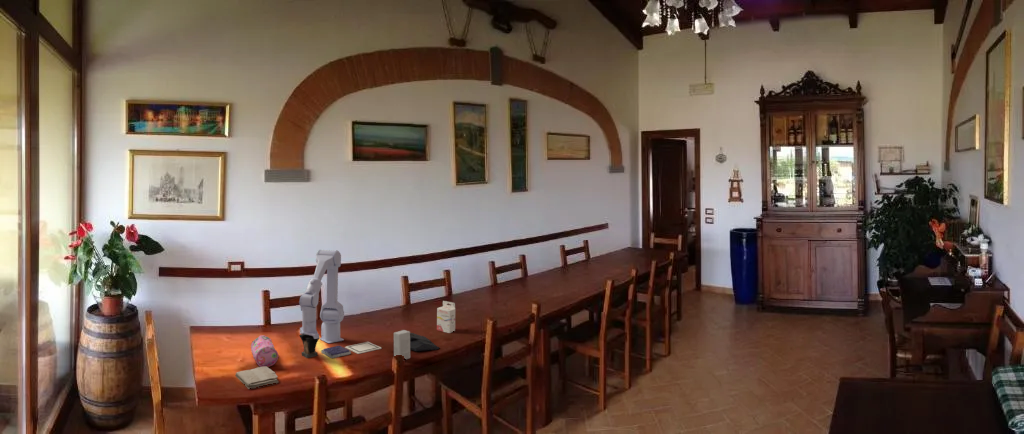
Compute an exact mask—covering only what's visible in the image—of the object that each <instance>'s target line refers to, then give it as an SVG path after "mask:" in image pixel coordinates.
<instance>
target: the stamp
mask: <svg viewBox="0 0 1024 434" xmlns="http://www.w3.org/2000/svg"><path fill="white" fill-rule="evenodd" d="M318 355H319V353H318V352H317V351H316V350H315V352H313V353H309V349H308V343H307V341H304V345H303V351H301V356H302V357H304V358H306V359H308V358H309V359H310V358H313V357H318Z"/></svg>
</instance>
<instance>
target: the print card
mask: <svg viewBox="0 0 1024 434" xmlns="http://www.w3.org/2000/svg"><path fill="white" fill-rule="evenodd" d="M344 348H346V349H348V350H349V351H351V352H353V353H355V354H358V355H359V354H364V353H369V352H373V351H376V350H381V349H382V347H381V346H379V345H376V344H374V343H372V342H370V341H365V342H361V343H357V344H356V343H355V344H352V345H347V346H344Z"/></svg>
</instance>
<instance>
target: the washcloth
mask: <svg viewBox="0 0 1024 434" xmlns="http://www.w3.org/2000/svg"><path fill="white" fill-rule="evenodd" d="M235 377H236V378H237V379H238V380H239V381H240V382H241V383H242V384H243V385H244V384H245V385H244V386H245V387H246V388H247V390H251V389H257V388H256V387H258V388H260V387H259V386H263V385H267V384H272V385H274V384H273V383H276V384H278V383H279V380H278V377H279V376H278V375H277V374H276V372H275V371H273V370H272V369H271V368H269V367H267V366H263V367H260V366H257V367H256V368H251V369H246V370H241V371H236V372H235ZM267 386H268V385H267ZM263 387H264V386H263ZM250 388H251V389H250Z"/></svg>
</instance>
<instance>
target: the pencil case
mask: <svg viewBox="0 0 1024 434" xmlns="http://www.w3.org/2000/svg"><path fill="white" fill-rule="evenodd" d="M250 351H251V353H252V356H253V359H254V361H255V362H256V364H257V365H258V367H263V366H267V367H268V368H269V367H272V366H274V365H275V364H276V363H277V361H278V360H279V353H278V351H277V350H276V349H275V345H274V343H273V341H272V339H271V338H270V337H269V336H266V335H262V334H261V335H259V336H258V337H257V338H255V339H254V340H252V341H251V344H250Z"/></svg>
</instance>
